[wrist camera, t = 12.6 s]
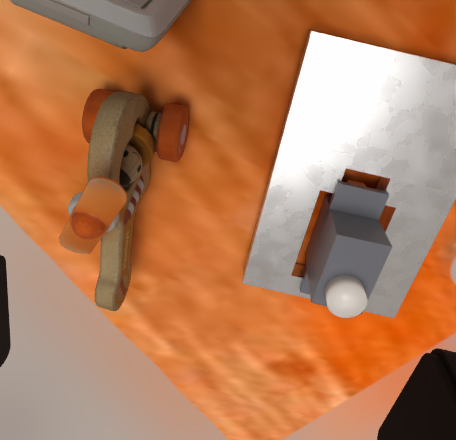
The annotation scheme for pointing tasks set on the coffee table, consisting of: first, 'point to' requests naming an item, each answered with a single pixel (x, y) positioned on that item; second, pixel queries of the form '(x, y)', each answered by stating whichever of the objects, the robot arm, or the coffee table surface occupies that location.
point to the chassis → (360, 158)
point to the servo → (346, 249)
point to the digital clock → (113, 18)
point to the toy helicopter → (119, 180)
